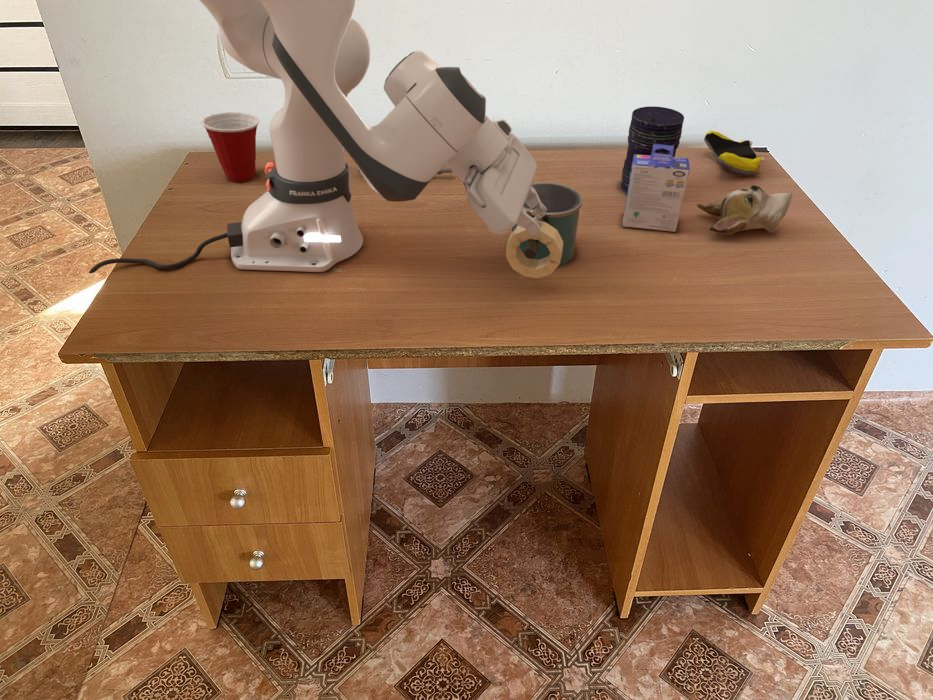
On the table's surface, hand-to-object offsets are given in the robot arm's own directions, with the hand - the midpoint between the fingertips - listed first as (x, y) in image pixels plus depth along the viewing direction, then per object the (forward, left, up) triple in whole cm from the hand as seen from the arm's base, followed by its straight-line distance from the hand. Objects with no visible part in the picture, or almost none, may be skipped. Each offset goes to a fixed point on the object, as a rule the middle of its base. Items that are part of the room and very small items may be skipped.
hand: (540, 223), depth 103 cm
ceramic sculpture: (+42, +14, -12) cm, 46 cm away
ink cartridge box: (+26, +18, -12) cm, 34 cm away
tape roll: (0, 0, -9) cm, 9 cm away
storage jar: (+30, +32, -12) cm, 45 cm away
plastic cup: (-51, +48, -12) cm, 71 cm away
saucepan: (+2, +7, -12) cm, 13 cm away
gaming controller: (+52, +40, -12) cm, 67 cm away
